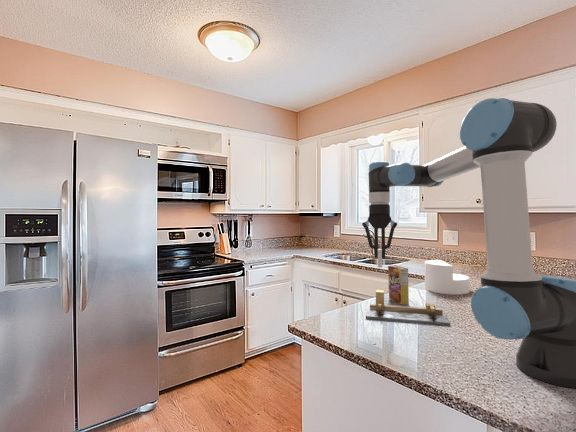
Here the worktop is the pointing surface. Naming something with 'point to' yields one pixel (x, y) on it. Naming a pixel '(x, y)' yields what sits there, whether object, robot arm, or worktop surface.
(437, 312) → the beam
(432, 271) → the container
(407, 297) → the candy box
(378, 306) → the jaw
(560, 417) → the worktop surface
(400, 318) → the plate
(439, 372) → the worktop surface
